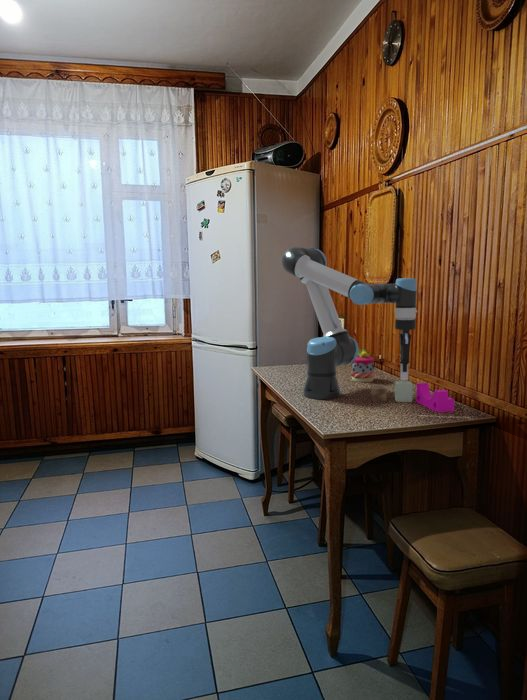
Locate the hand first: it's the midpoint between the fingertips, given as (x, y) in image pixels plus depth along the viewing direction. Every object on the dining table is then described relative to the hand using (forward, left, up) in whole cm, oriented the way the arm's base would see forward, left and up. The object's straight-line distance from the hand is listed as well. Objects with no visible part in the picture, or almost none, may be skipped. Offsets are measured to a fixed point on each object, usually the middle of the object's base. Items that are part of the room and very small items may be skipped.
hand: (404, 379), depth 181 cm
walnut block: (-10, -1, -8) cm, 13 cm away
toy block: (+10, -8, -9) cm, 16 cm away
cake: (-15, +34, -8) cm, 38 cm away
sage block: (0, 0, -8) cm, 8 cm away
